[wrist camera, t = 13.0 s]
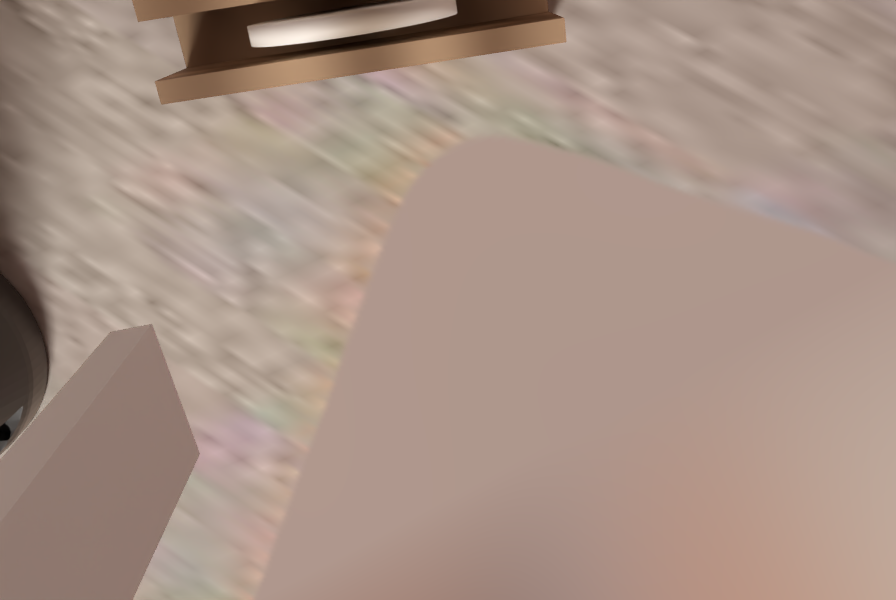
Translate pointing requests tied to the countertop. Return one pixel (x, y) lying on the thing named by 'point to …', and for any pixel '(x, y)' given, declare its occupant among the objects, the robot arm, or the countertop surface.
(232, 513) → the countertop surface
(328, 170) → the countertop surface
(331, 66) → the rack
